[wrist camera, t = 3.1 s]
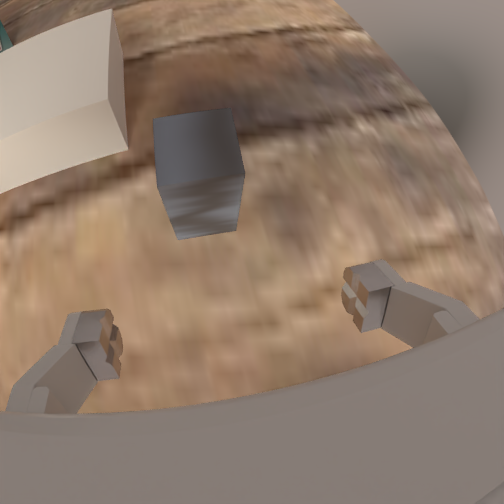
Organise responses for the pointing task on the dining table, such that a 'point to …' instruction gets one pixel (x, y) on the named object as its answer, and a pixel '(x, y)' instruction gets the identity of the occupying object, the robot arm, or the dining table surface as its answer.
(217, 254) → the dining table surface
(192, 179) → the slate block
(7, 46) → the cake mix box
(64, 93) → the painted box
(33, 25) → the dining table surface
